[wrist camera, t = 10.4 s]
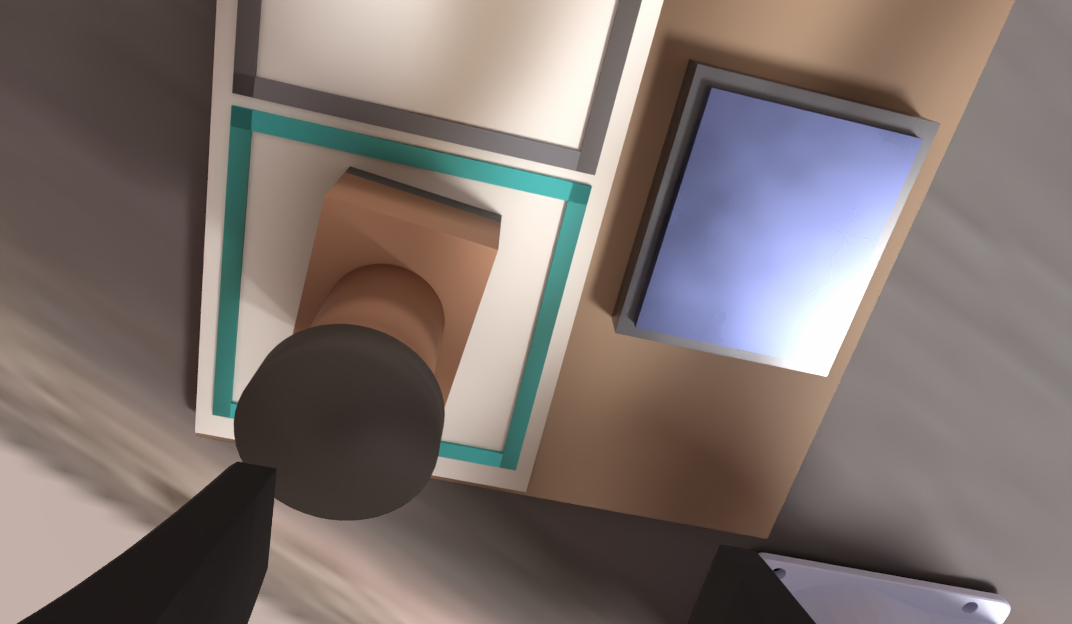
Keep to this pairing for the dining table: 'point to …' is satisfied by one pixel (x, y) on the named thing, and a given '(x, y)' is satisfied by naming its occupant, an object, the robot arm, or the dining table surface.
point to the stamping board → (548, 215)
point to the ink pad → (766, 218)
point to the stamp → (369, 349)
